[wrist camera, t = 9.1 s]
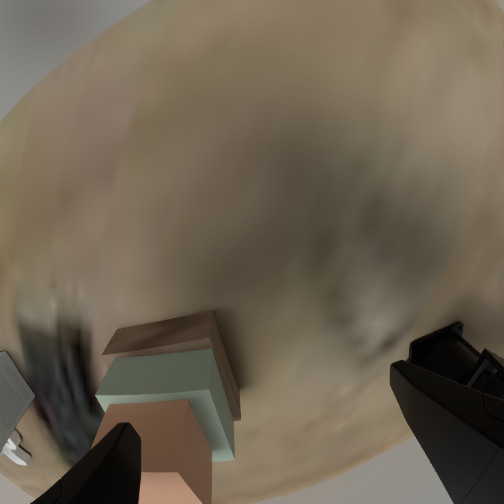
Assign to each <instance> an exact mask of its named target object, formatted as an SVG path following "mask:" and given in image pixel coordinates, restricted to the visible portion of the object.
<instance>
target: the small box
mask: <svg viewBox="0 0 504 504" xmlns="http://www.w3.org/2000/svg"><path fill="white" fill-rule="evenodd" d="M34 398H35V394H34V393H33V392H32V390H31V389H30V387H29V386H28V385H27V383H26V382H25V380H24V379H23V377H22V376H21V374H20V373H19V371H18V369H17V368H16V366H15V365H14V363H13V361H12V360H11V358H10V357H9V355H8V353H7V352H6V351H3V352H0V453H1V451H2V449H3V447H4V446H5V444H6V442H7V440H8V439H9V437H10V435H11V434H12V432H13V431H14V429H15V427H16V426H17V424H18V422H19V421H20V419H21V418H22V416H23V415H24V413H25V411H26V410H27V408H28V407H29V405H30V404H31V402H32V401H33V399H34Z"/></svg>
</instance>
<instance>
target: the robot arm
mask: <svg viewBox="0 0 504 504" xmlns="http://www.w3.org/2000/svg"><path fill="white" fill-rule="evenodd" d="M462 332H463V324H462V323H461V322H457V323H455V324H453V325H451V326H448V327H446V328H444V329H442V330H440V331H438V332H435V333H433V334H431V335H429V336H426V337H424V338H422V339H419V340H417V341H415V342H413V343H412V344H411V346H410V355H409V362H407V361H404V360H399V361H396V362H394V363H392V364H391V365H390V386H391V388H392V391H393V393H394V395H395V397H396V399H397V402H398V404H399V406H400V408H401V411H402V413H403V415H404V417H405V419H406V422H407V423H408V425H409V427H410V428H411V430H412V432H413V433H414V435H415V437H416V438H417V440H418V442H419V443H420V445H421V447H422V448H423V450H424V452H425V454H426V455H427V457H428V459H429V460H430V462H431V464H432V466H433V467H434V469H435V471H436V472H437V474H438V476H439V478H440V480H441V481H442V483H443V485H444V487H445V488H446V490H447V492H448V494H449V496H450V498H451V499H452V501H453V503H454V504H504V359H503V358H502V357H500V356H498V355H496V354H494V353H493V352H491V351H489V350H487V349H486V348H484V350H483V351H482V353H481V354H480V353H479V352H478V351H477V350H476V349H475V348H474V347H472V346H471V345H470V344H469V343H468V342H467V341H466V340H464V339H463V338H462ZM415 346H416V347H415ZM141 445H142V442H141V438H140V436H139V434H138V433H137V431H136V430H135V429H134V427H133V426H132V425H131V423H129V422H119V423H118V424H116V425H115V426H114V427H113V428H112V429H111V430H110V431H109V432H108V433H107V434H106V435H105V436H104V437H103V438H102V439H101V440H100V441H99V442H98V443H97V444H96V445H95V446H94V447H93V448H92V449H91V450H90V451H89V452H88V453H87V454H86V455H85V456H84V457H83V458H81V459H80V460H79V461H78V462H77V463H76V464H75V465H74V466H73V467H72V468H71V469H70V470H69V471H68V472H67V473H66V474H65V475H64V476H62V477H61V479H59V480H58V481H57V482H56V483H55V484H54V485H53V486H52V487H51V488H49V489H48V490H47V491H46V492H45V493H43V494H42V495H41V496H40V497H38V498H37V499H36V500H34V501H33V502H32V503H30V504H139V494H140V485H141Z"/></svg>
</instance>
